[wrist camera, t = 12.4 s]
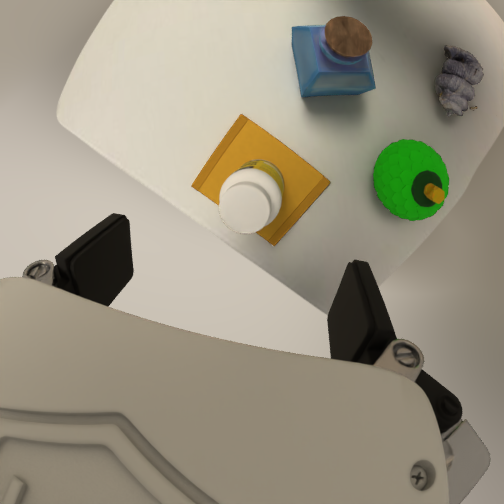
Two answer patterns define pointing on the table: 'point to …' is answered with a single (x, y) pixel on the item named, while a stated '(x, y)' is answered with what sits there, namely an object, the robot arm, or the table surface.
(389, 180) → the ornament
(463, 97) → the seashell
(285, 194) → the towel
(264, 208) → the supplement bottle
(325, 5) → the table surface
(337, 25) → the perfume bottle
